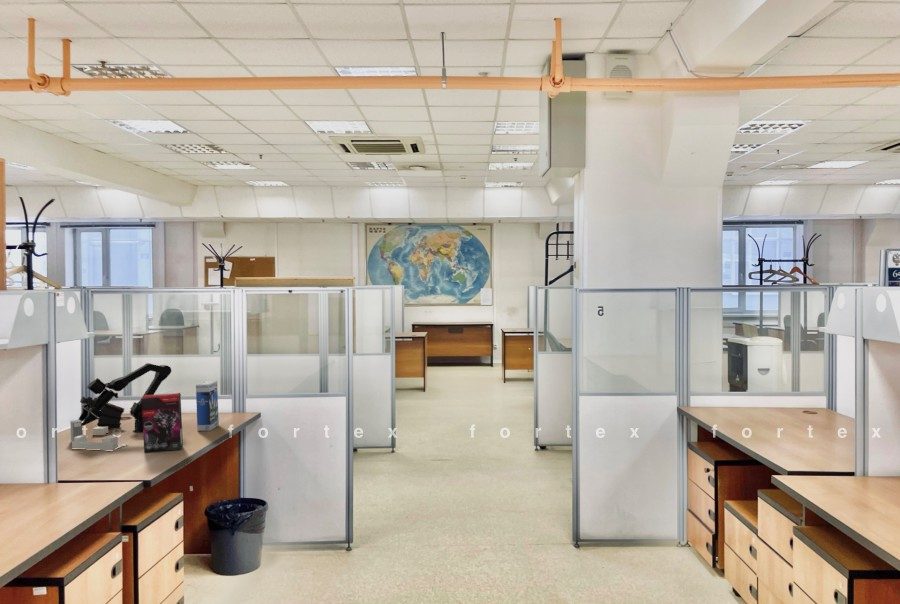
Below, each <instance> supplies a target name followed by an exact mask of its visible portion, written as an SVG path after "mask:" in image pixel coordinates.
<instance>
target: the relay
mask: <svg viewBox="0 0 900 604" xmlns="http://www.w3.org/2000/svg"><path fill="white" fill-rule="evenodd" d="M106 433H108V434H109V429H108V427H98V426H95V427H93V428H92V436H93V435H104V434H106ZM106 435H107V434H106ZM104 436H105V435H104Z"/></svg>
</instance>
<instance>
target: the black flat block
mask: <svg viewBox="0 0 900 604" xmlns="http://www.w3.org/2000/svg"><path fill="white" fill-rule="evenodd" d="M106 405H107V406H106V407H105V406H104V407H103V408H102V409H101V410H100V411H101V412H102V413H103V416H102V417H101V418H99V417H98V418H99V419H97V421H98V422H97V423H96V427H108V428H116V429H120V428H121V425H122V423H121V420H122V418H123V417H122V414H123V413H124V412H125V408H124V407H121V406H118V405H115V404H113V403H109V402H108V403H107V404H106ZM119 427H120V428H119Z"/></svg>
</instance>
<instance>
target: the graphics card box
mask: <svg viewBox="0 0 900 604" xmlns="http://www.w3.org/2000/svg"><path fill="white" fill-rule="evenodd" d="M143 395H144V394H143ZM143 395H142V397H141V398H142V416H143V432H142V434H143V453H155V452H156V453H157V452H166V451H177V450H181V449H182V448H183V446H184V441H183V437H184V436H183V424H182V423H183V422H182V419H183V418H182V398H181V396H182V395H181V392H177V393H165V394H164V393H162V394H161V393H159V394H154V395H144V396H143Z"/></svg>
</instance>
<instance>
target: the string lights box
mask: <svg viewBox="0 0 900 604" xmlns="http://www.w3.org/2000/svg"><path fill="white" fill-rule="evenodd" d="M195 395H196V399H195V400H196V427H197V429H196V430H197V432H207V431H208V432H210V431H212V430H213V429H216V428H217V427H218V425H220V424H219V422H220V421H219V401H218V400H219V395H218V380H204V381H203V382H200V383H197V384H195ZM216 426H217V427H216Z"/></svg>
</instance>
